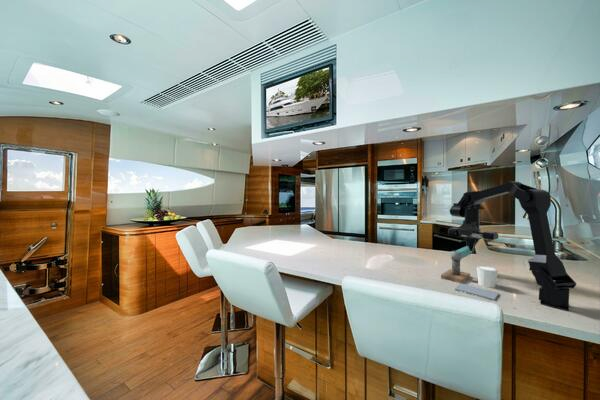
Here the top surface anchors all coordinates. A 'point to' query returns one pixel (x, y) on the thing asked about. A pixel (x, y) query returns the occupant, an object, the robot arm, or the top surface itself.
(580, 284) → the top surface
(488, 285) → the white tapered cup
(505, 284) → the top surface
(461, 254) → the bar
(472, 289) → the slate mat
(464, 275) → the stand
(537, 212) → the robot arm
